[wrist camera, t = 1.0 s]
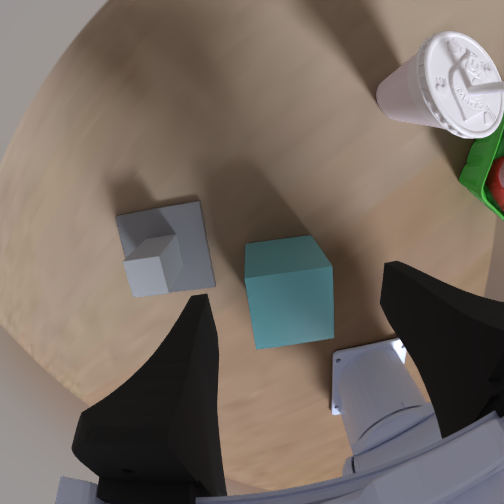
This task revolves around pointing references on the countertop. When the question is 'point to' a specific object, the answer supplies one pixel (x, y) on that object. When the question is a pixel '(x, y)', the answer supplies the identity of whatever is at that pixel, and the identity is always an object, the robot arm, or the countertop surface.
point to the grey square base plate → (166, 249)
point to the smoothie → (446, 87)
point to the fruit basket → (487, 170)
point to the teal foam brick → (289, 291)
